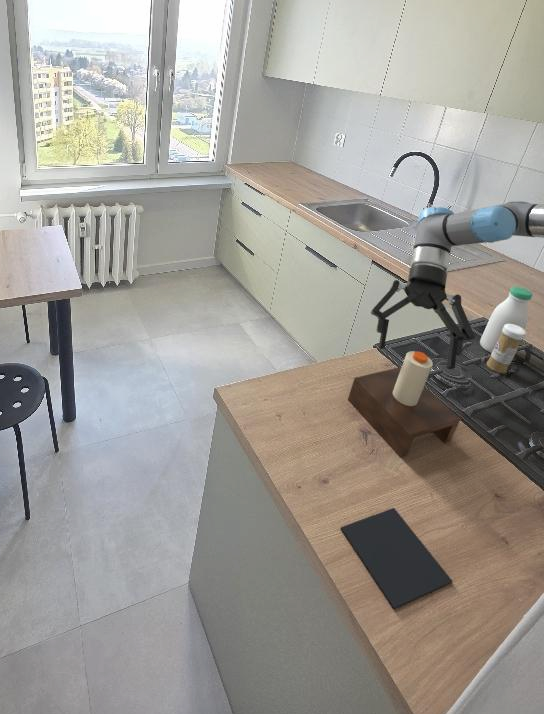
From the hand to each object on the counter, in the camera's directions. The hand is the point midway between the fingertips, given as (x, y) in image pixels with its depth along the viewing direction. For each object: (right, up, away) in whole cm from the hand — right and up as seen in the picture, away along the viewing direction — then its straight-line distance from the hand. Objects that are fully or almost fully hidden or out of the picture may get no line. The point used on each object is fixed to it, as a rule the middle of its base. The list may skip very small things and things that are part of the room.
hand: (414, 357), depth 93 cm
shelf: (-2, -16, +4) cm, 16 cm away
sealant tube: (-2, -9, +1) cm, 9 cm away
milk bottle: (+41, -7, +29) cm, 51 cm away
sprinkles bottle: (+35, -10, +21) cm, 42 cm away
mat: (-17, -26, -22) cm, 38 cm away
